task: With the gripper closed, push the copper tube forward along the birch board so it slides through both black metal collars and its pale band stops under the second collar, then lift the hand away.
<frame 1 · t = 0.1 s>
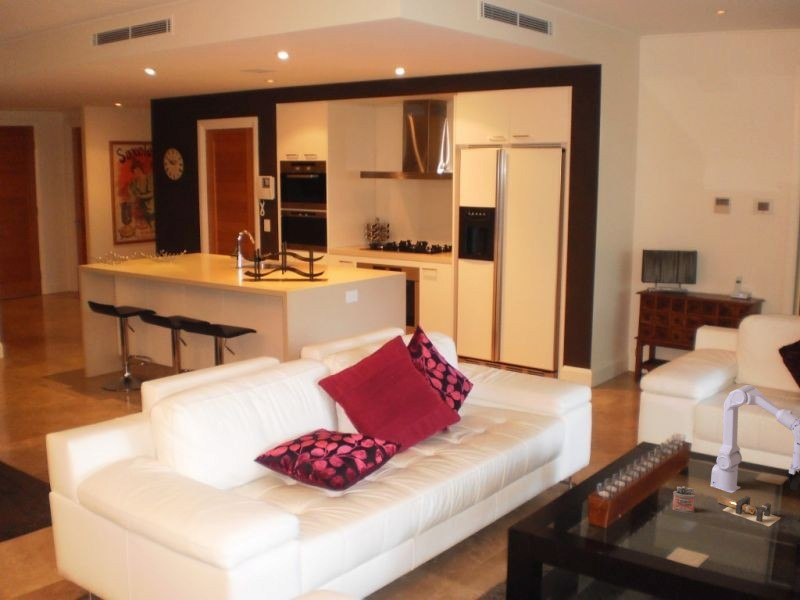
hand: (798, 486, 318), 10 cm above the table, tool pointing down, fingers open, 7 cm apart
tube: (736, 508, 322), point 1 cm above the table, touching board
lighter: (683, 512, 321), on the table
board: (751, 515, 317), on the table
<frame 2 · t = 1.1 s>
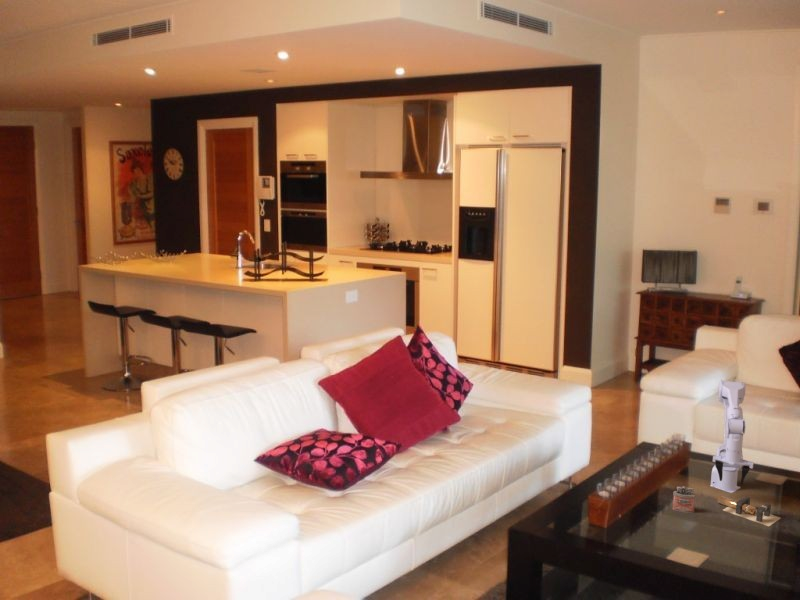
hand: (731, 481, 326), 9 cm above the table, tool pointing down, fingers open, 7 cm apart
nothing on the table moved.
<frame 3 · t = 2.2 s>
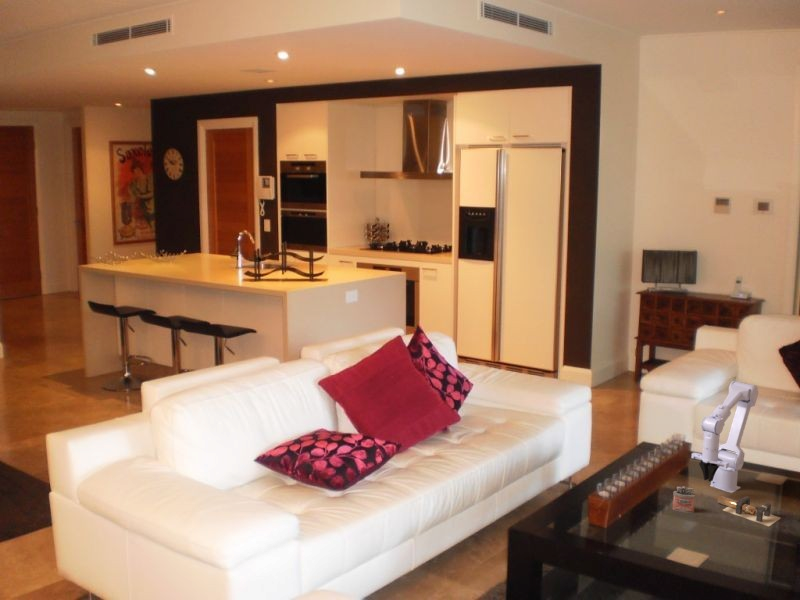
hand: (708, 480, 329), 8 cm above the table, tool pointing down, fingers closed
nothing on the table moved.
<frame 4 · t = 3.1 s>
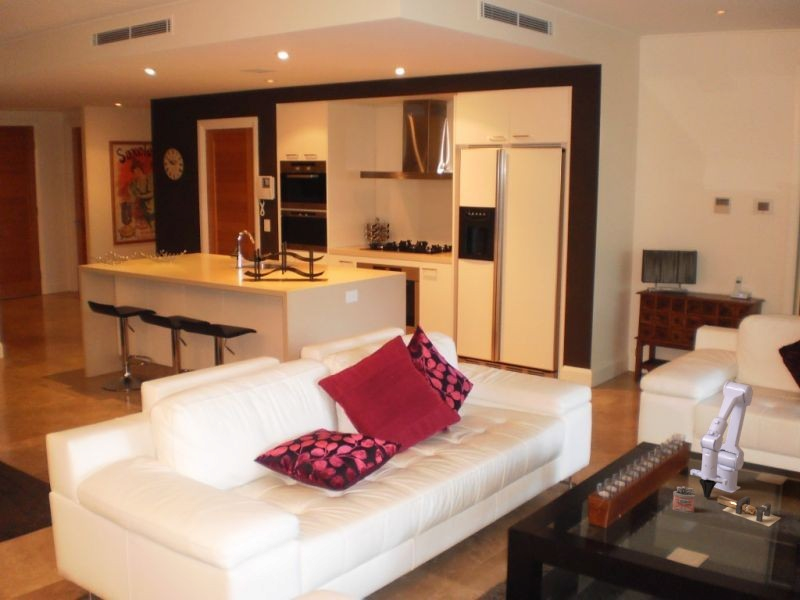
hand: (707, 496, 330), 1 cm above the table, tool pointing down, fingers closed
nothing on the table moved.
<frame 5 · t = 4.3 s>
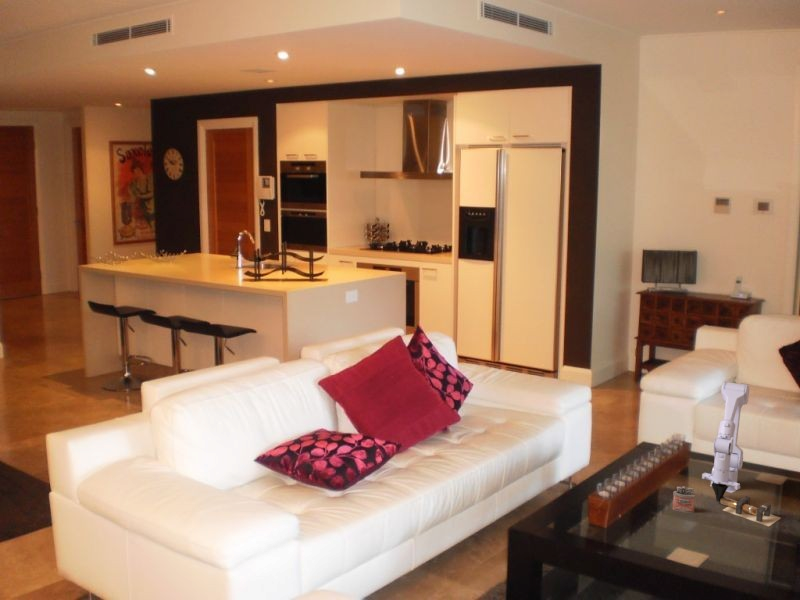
hand: (719, 500, 326), 1 cm above the table, tool pointing down, fingers closed
tube: (739, 509, 321), point 1 cm above the table, touching gripper
everything else where it was.
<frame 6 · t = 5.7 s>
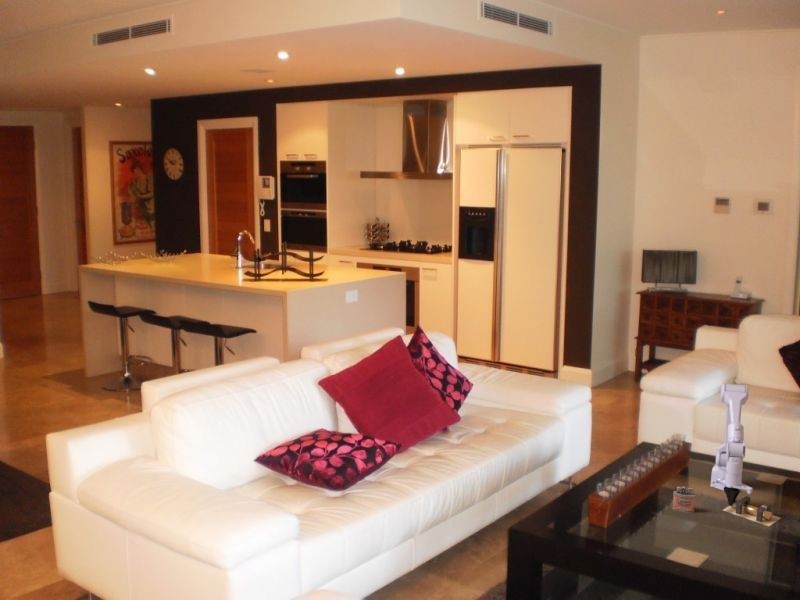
hand: (731, 505, 323), 1 cm above the table, tool pointing down, fingers closed
tube: (752, 514, 317), point 1 cm above the table, touching board, gripper
everything else where it was.
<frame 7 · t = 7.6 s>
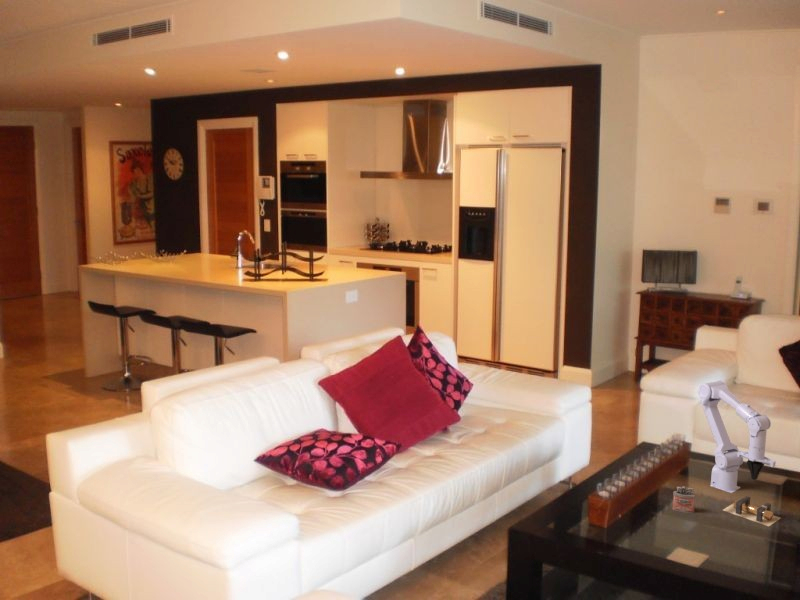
hand: (754, 478, 327), 9 cm above the table, tool pointing down, fingers closed
tube: (752, 513, 317), point 1 cm above the table, tilted 22°, touching board
everything else where it was.
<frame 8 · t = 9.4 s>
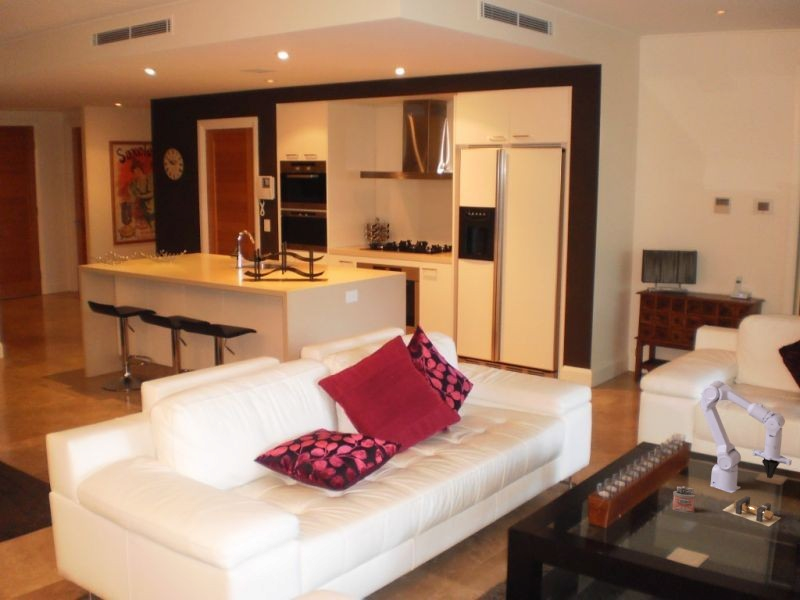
hand: (769, 477, 329), 9 cm above the table, tool pointing down, fingers closed
nothing on the table moved.
at the end: tube 0.2 cm off-centre on the board, point 0.8 cm above the board's base; tube moved 6.2 cm from its start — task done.
